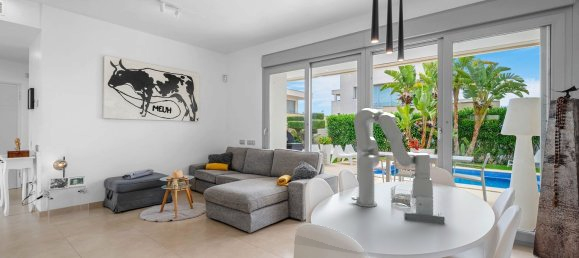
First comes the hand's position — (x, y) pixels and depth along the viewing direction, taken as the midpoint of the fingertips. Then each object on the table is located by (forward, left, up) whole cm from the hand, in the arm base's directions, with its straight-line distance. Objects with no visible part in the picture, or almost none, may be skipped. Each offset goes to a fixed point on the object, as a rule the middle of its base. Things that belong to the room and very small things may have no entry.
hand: (422, 208), depth 155 cm
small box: (0, -4, -3) cm, 6 cm away
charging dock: (0, -5, -3) cm, 6 cm away
